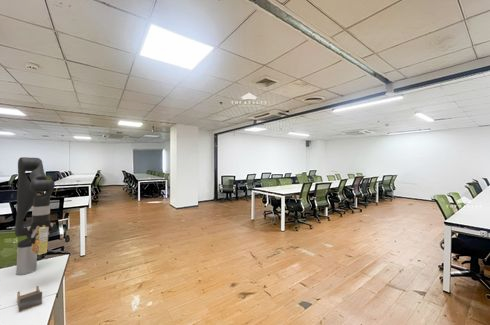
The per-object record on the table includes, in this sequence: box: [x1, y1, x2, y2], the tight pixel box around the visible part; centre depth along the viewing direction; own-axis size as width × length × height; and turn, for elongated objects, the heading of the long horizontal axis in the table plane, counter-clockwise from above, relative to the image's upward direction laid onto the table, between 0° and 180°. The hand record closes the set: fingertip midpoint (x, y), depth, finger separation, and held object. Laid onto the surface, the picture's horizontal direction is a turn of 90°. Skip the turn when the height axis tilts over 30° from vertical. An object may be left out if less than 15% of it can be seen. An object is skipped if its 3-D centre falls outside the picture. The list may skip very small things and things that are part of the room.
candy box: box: [32, 226, 50, 256], centre depth 123 cm, size 9×4×15 cm, turn 65°
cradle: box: [16, 285, 43, 313], centre depth 108 cm, size 15×8×6 cm, turn 50°
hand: (39, 242), depth 123 cm, fingers closed on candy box, 5 cm apart
